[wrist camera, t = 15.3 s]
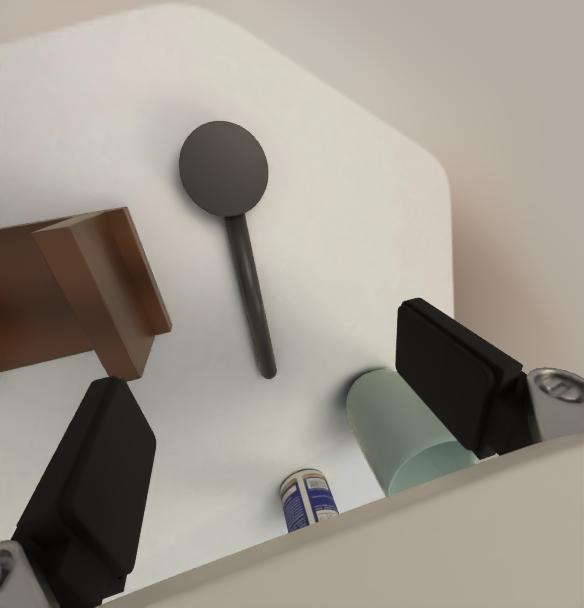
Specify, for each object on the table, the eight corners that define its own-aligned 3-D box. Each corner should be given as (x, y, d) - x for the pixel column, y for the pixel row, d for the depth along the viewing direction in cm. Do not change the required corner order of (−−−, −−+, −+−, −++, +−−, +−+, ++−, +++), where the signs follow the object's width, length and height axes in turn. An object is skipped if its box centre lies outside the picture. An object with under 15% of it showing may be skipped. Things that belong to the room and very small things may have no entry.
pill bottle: (288, 506, 36) (312, 615, 27) (272, 481, 33) (294, 593, 25) (330, 486, 37) (367, 587, 28) (318, 460, 34) (355, 562, 25)
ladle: (241, 379, 26) (243, 394, 25) (170, 131, 18) (166, 127, 16) (295, 364, 27) (301, 378, 26) (255, 119, 18) (259, 115, 17)
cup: (398, 408, 33) (464, 494, 25) (334, 422, 32) (380, 520, 23) (408, 351, 30) (489, 428, 21) (337, 364, 28) (393, 452, 20)
